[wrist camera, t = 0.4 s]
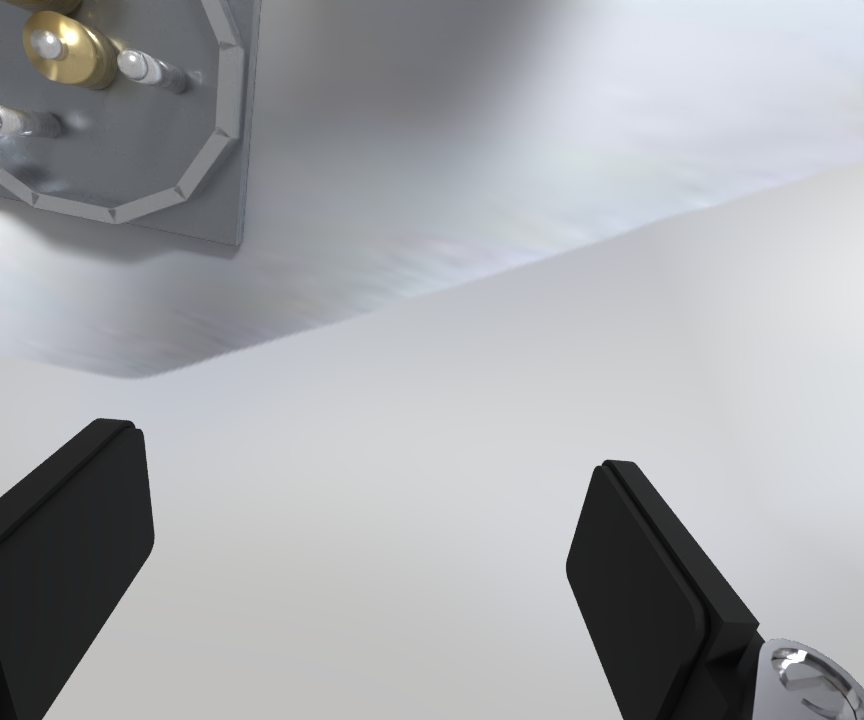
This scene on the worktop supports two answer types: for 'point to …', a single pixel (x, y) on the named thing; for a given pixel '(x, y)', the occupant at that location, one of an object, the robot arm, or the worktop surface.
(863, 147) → the worktop surface
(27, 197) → the carrier
